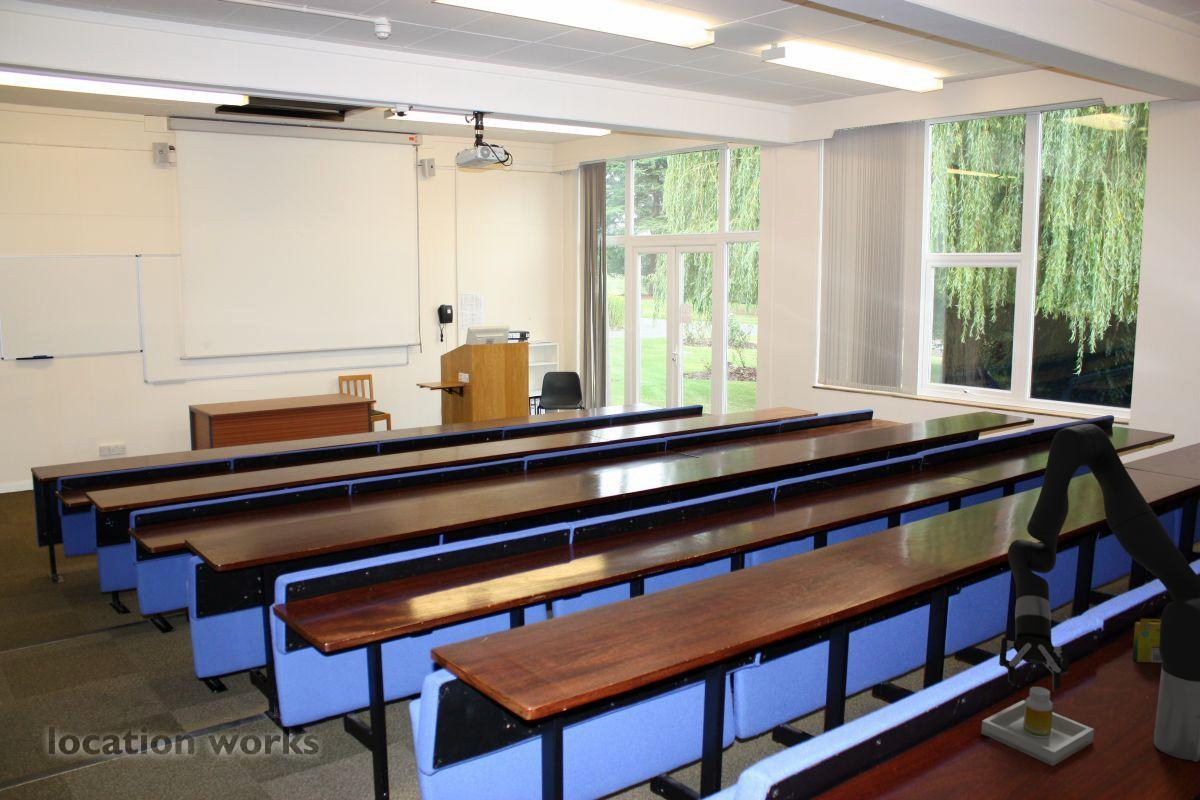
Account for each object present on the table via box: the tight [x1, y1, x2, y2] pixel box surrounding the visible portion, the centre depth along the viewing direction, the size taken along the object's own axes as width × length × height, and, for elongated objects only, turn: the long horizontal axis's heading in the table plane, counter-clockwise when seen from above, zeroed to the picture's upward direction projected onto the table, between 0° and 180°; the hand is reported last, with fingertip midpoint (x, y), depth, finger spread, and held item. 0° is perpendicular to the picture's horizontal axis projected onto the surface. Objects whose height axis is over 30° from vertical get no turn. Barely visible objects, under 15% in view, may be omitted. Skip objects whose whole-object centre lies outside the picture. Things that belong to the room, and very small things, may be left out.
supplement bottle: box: [1023, 686, 1054, 739], centre depth 203 cm, size 5×5×10 cm
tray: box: [980, 699, 1095, 767], centre depth 204 cm, size 16×16×3 cm
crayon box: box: [1131, 618, 1162, 664], centre depth 241 cm, size 7×3×12 cm, turn 84°
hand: (1034, 687), depth 211 cm, fingers open, 8 cm apart
